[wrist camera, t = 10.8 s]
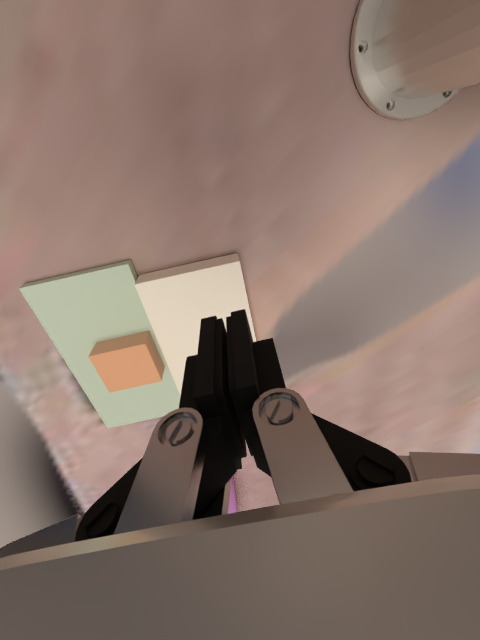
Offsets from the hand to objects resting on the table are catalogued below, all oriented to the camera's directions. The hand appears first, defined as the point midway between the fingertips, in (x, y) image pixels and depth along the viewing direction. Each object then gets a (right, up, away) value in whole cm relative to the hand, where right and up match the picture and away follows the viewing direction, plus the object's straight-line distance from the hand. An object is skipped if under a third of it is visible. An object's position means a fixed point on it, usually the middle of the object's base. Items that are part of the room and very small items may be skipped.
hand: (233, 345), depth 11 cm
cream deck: (-4, -1, +29) cm, 29 cm away
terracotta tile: (-14, -4, +28) cm, 32 cm away
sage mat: (-16, -4, +29) cm, 34 cm away
